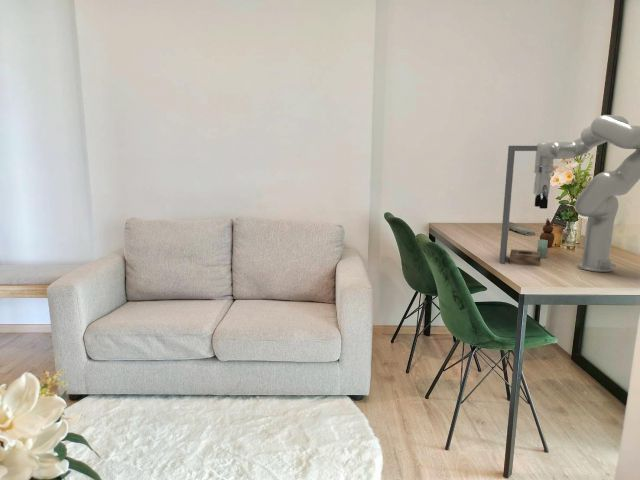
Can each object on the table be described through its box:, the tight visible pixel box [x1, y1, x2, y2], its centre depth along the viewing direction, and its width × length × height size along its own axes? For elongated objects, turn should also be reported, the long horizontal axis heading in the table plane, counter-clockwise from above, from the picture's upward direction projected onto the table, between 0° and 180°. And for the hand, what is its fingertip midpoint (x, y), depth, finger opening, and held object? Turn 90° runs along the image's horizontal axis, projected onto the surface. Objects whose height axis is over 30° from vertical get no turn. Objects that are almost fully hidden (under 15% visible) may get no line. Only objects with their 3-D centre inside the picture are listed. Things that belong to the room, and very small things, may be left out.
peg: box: [536, 239, 548, 259], centre depth 220 cm, size 4×4×8 cm
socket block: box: [508, 248, 541, 267], centre depth 211 cm, size 12×12×4 cm
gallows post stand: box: [499, 145, 538, 264], centre depth 208 cm, size 11×16×50 cm
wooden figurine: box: [539, 218, 555, 248], centre depth 245 cm, size 7×6×15 cm
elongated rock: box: [509, 221, 536, 236], centre depth 296 cm, size 35×5×10 cm
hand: (540, 207), depth 222 cm, fingers open, 9 cm apart
